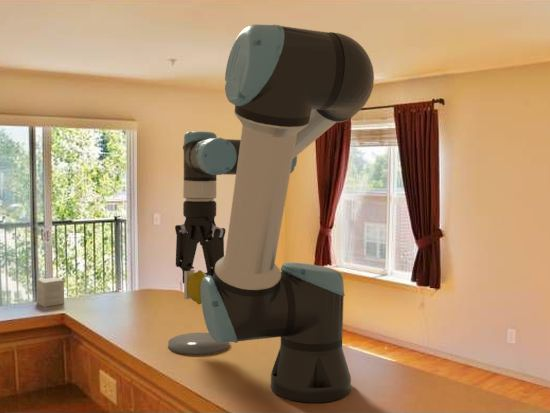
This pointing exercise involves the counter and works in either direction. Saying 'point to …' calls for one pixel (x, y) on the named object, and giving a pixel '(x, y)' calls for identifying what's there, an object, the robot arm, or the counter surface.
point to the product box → (50, 291)
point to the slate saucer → (196, 344)
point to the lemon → (195, 286)
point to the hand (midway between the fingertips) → (199, 299)
